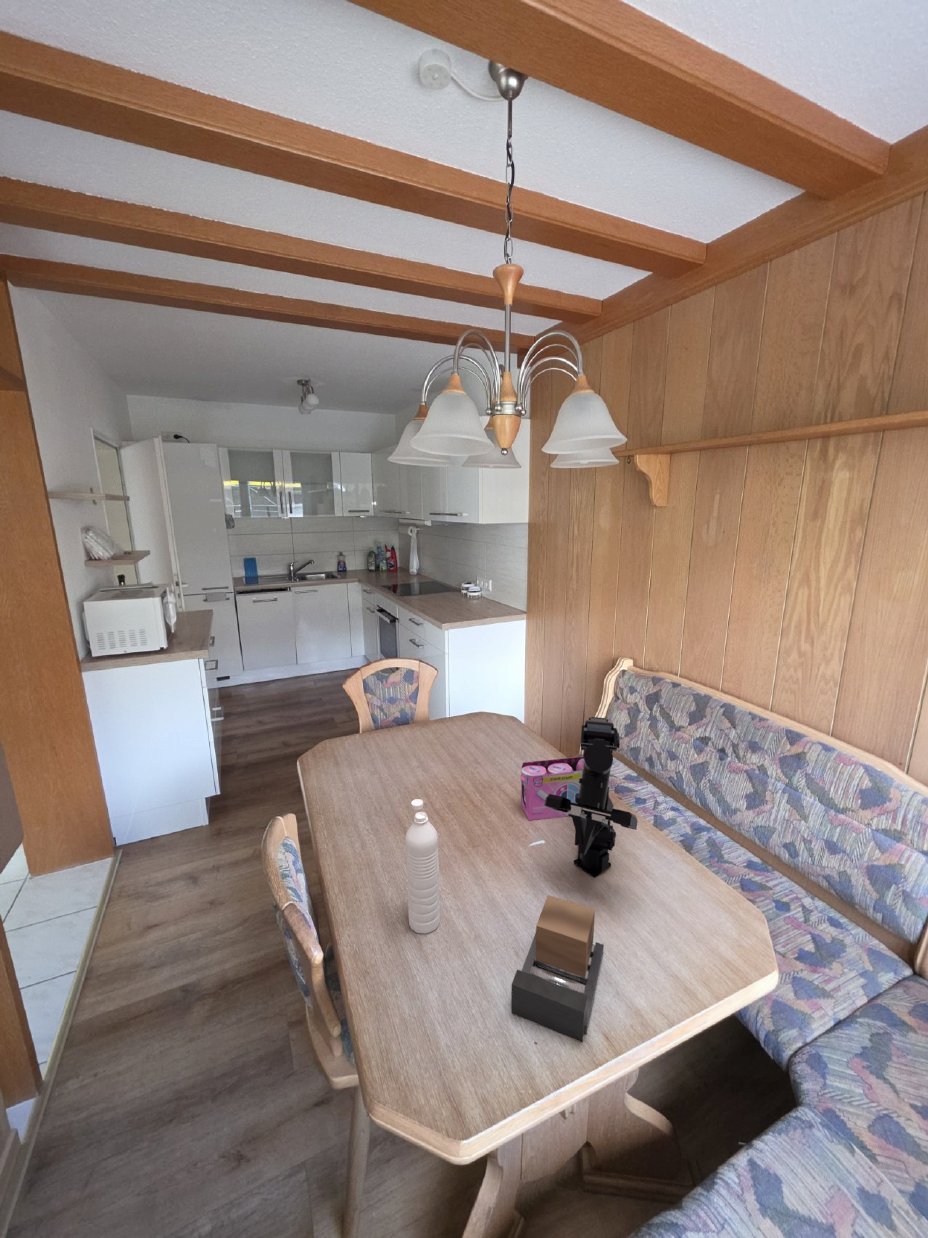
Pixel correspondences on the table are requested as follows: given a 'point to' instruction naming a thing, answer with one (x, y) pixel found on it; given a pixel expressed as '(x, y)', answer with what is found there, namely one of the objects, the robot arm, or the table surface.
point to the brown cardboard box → (565, 935)
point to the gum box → (549, 785)
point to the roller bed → (556, 994)
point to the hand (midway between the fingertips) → (582, 854)
